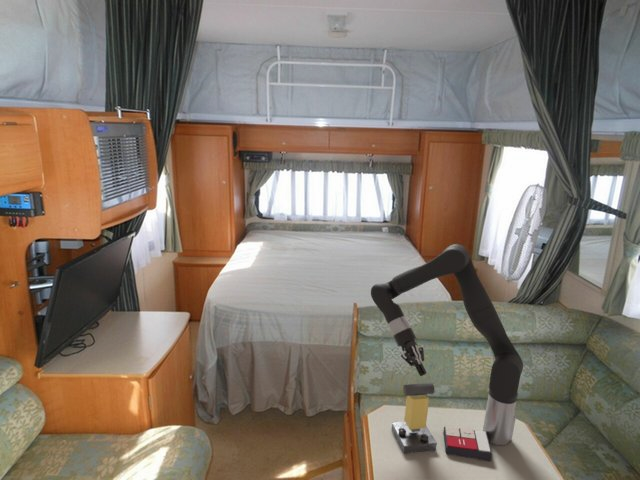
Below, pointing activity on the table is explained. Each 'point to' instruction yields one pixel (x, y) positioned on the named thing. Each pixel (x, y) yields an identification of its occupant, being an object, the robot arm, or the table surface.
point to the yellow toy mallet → (417, 405)
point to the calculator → (467, 443)
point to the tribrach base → (413, 438)
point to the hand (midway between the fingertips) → (423, 374)
